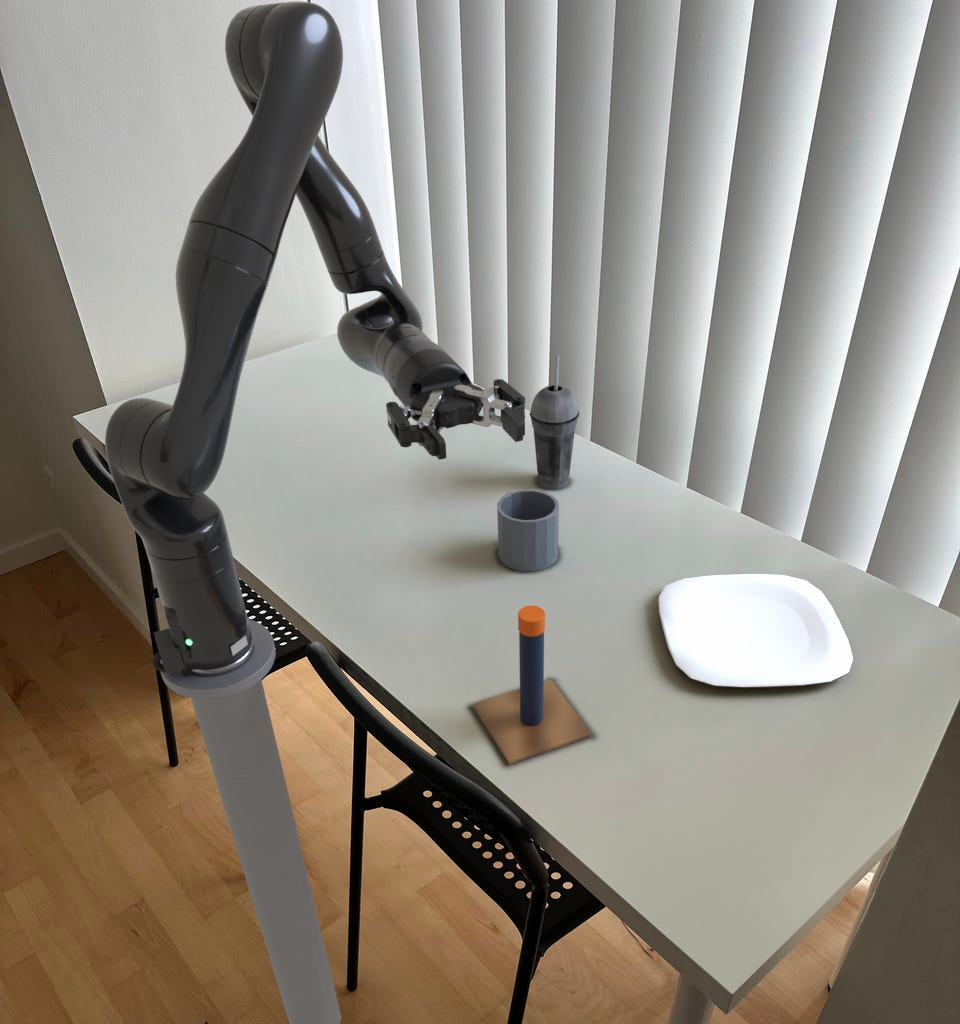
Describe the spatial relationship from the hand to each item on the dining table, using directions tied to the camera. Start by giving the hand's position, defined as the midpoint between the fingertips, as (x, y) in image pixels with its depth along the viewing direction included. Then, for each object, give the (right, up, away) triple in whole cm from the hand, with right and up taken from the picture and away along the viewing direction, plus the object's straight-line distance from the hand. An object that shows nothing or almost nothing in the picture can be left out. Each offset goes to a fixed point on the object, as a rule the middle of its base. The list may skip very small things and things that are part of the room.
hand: (482, 442), depth 100 cm
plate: (+33, -20, +22) cm, 44 cm away
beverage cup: (+11, +4, +52) cm, 53 cm away
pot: (+6, -8, +37) cm, 38 cm away
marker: (+6, -29, +11) cm, 31 cm away
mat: (+6, -29, +11) cm, 32 cm away
